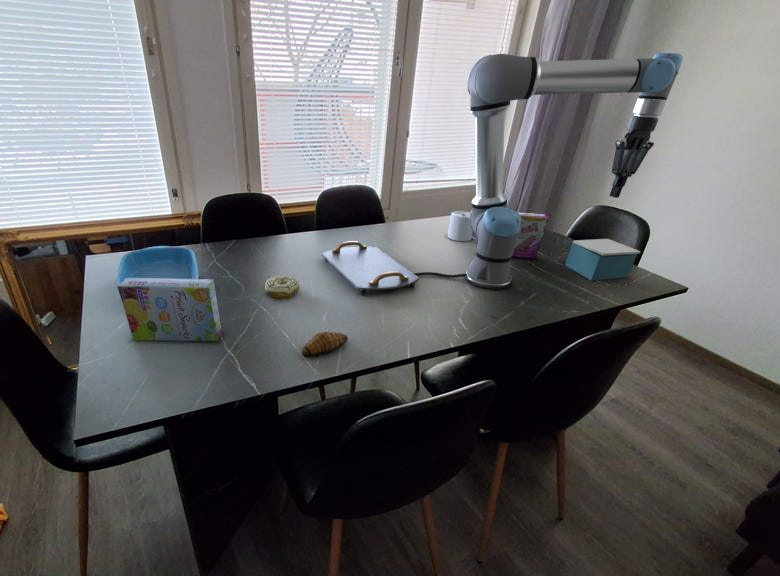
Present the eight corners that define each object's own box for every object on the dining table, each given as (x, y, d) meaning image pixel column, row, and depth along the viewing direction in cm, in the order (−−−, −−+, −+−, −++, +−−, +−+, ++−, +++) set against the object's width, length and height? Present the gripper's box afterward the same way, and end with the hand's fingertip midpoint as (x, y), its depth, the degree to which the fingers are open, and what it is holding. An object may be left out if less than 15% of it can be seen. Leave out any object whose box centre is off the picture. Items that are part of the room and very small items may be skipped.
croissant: (310, 364, 99) (310, 346, 96) (295, 351, 103) (294, 334, 101) (354, 347, 106) (355, 330, 103) (338, 335, 110) (339, 319, 108)
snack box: (222, 331, 110) (214, 278, 101) (217, 342, 105) (208, 288, 97) (140, 330, 109) (125, 276, 100) (132, 341, 104) (115, 285, 96)
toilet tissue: (443, 234, 187) (447, 211, 181) (468, 233, 189) (473, 210, 183) (452, 241, 178) (456, 218, 173) (478, 241, 180) (483, 217, 175)
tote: (626, 277, 152) (637, 254, 147) (591, 280, 149) (600, 256, 144) (598, 262, 164) (607, 240, 159) (564, 265, 161) (572, 242, 156)
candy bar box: (507, 257, 165) (518, 215, 156) (505, 253, 169) (515, 211, 160) (536, 259, 164) (549, 217, 155) (533, 255, 169) (545, 213, 159)
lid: (639, 253, 146) (640, 251, 146) (602, 255, 143) (603, 253, 143) (607, 240, 159) (607, 238, 159) (572, 242, 156) (573, 240, 155)
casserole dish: (205, 308, 120) (201, 285, 116) (119, 319, 113) (112, 295, 109) (196, 262, 148) (193, 242, 144) (127, 269, 141) (121, 248, 137)
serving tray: (317, 257, 157) (317, 241, 153) (371, 250, 165) (373, 235, 162) (361, 300, 128) (362, 282, 125) (424, 290, 136) (427, 272, 133)
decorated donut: (260, 297, 127) (259, 286, 125) (271, 283, 136) (270, 272, 134) (294, 301, 126) (293, 289, 124) (302, 286, 135) (302, 275, 133)
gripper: (652, 115, 132) (621, 193, 145) (618, 114, 129) (589, 194, 142) (672, 118, 126) (638, 199, 139) (637, 116, 123) (605, 199, 136)
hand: (613, 196), depth 140 cm, fingers closed
